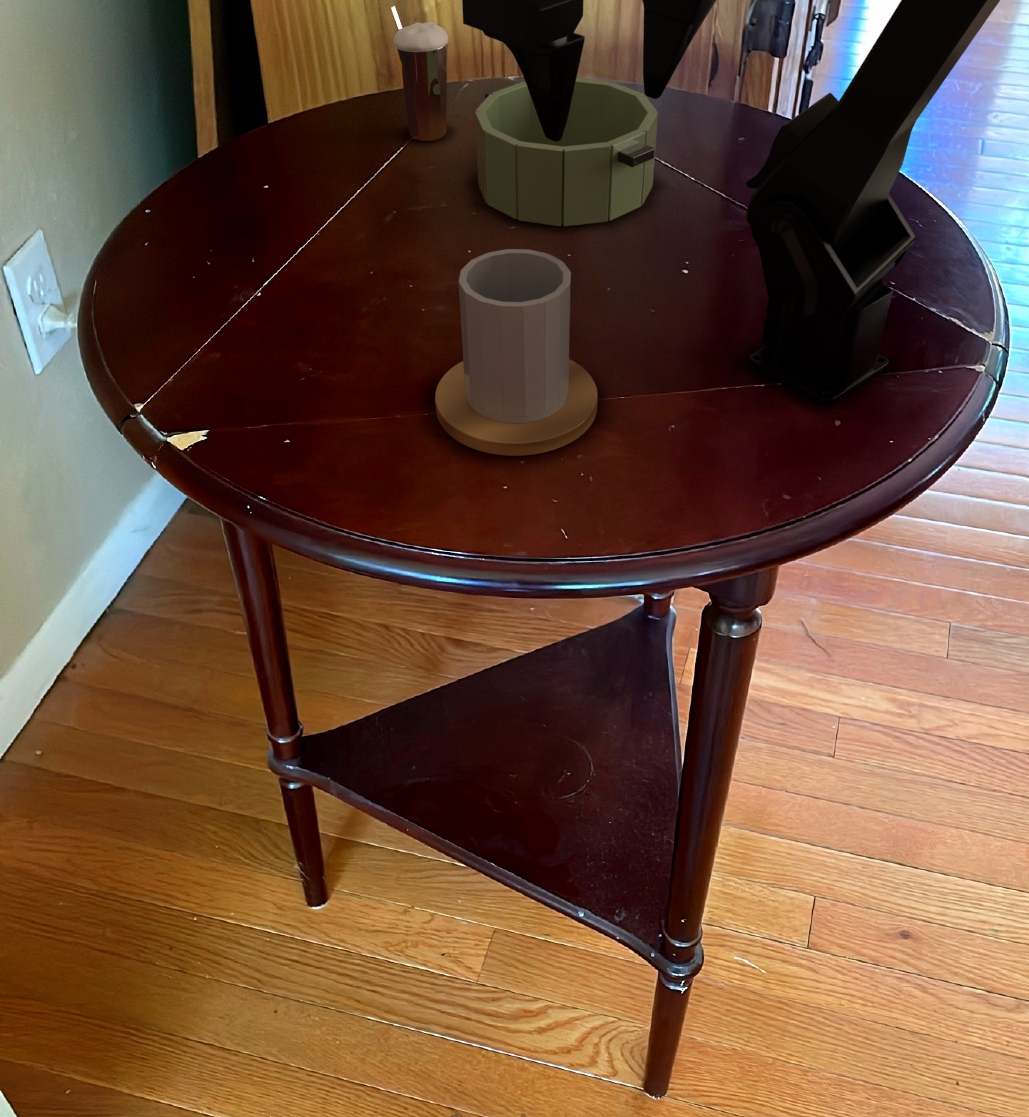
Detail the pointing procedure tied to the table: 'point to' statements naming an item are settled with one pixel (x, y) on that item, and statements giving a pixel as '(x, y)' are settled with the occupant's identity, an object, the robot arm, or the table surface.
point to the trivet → (516, 436)
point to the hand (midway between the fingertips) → (604, 117)
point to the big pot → (567, 155)
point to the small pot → (515, 334)
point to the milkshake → (423, 77)
